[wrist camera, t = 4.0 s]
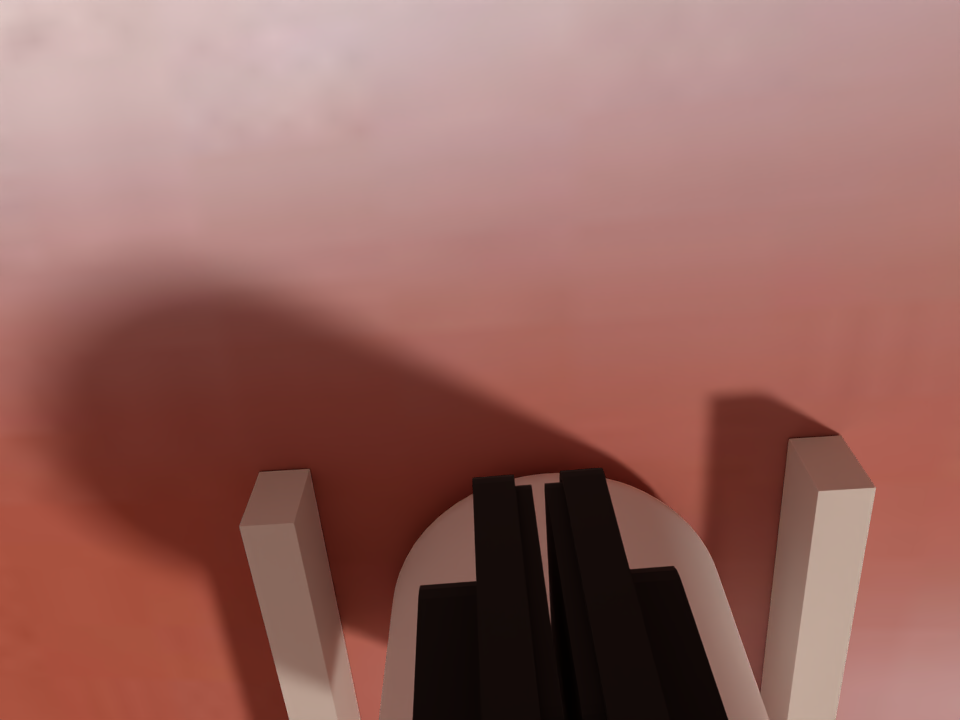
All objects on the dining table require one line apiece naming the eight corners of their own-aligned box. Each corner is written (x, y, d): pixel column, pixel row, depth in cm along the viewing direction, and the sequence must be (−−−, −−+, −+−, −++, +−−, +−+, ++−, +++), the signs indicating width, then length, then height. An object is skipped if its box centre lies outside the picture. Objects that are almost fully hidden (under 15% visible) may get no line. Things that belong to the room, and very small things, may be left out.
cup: (374, 667, 30) (330, 995, 21) (427, 425, 25) (400, 714, 16) (654, 709, 31) (726, 1038, 22) (756, 483, 26) (898, 786, 17)
